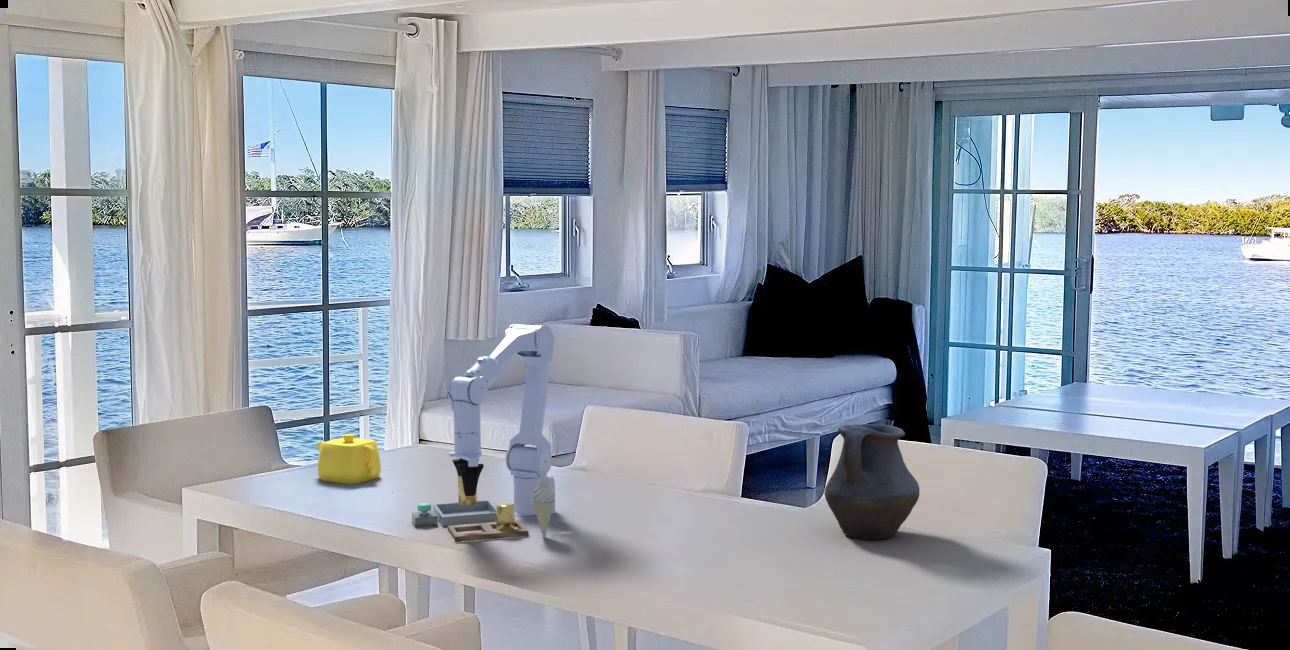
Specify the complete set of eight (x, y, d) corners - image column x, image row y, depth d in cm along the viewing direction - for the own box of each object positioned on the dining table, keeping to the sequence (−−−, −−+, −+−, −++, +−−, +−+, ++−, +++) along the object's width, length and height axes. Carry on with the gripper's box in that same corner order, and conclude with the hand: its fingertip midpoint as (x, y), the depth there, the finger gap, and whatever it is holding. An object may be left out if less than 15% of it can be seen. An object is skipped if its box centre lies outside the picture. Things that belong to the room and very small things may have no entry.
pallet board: (518, 525, 291) (518, 519, 291) (528, 535, 282) (528, 530, 281) (447, 531, 286) (447, 525, 286) (455, 542, 277) (455, 536, 276)
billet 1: (474, 500, 286) (474, 473, 285) (478, 504, 282) (478, 477, 281) (456, 502, 284) (456, 475, 284) (460, 505, 280) (460, 478, 280)
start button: (430, 518, 293) (430, 502, 293) (432, 521, 290) (432, 505, 290) (417, 519, 292) (416, 503, 292) (418, 522, 290) (418, 506, 289)
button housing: (434, 521, 295) (434, 510, 294) (437, 526, 290) (437, 515, 290) (412, 523, 293) (411, 512, 293) (415, 528, 288) (414, 517, 288)
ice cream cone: (534, 540, 277) (534, 471, 276) (530, 535, 282) (529, 467, 281) (557, 539, 279) (557, 470, 277) (553, 533, 284) (552, 465, 282)
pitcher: (932, 530, 284) (933, 418, 282) (898, 553, 266) (900, 433, 263) (844, 519, 295) (845, 410, 292) (805, 541, 276) (806, 425, 274)
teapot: (302, 478, 343) (301, 434, 341) (335, 470, 353) (334, 427, 352) (358, 486, 332) (357, 441, 331) (391, 477, 343) (390, 433, 342)
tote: (489, 509, 306) (489, 500, 305) (500, 522, 293) (500, 512, 293) (433, 514, 302) (433, 504, 301) (442, 527, 289) (442, 517, 289)
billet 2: (512, 529, 288) (512, 502, 287) (516, 533, 284) (516, 506, 283) (494, 530, 286) (494, 504, 286) (498, 535, 283) (498, 508, 282)
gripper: (443, 427, 287) (444, 487, 288) (454, 438, 273) (455, 501, 275) (475, 425, 289) (476, 485, 291) (487, 436, 276) (488, 499, 277)
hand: (468, 493), depth 283 cm, fingers closed on billet 1, 4 cm apart
